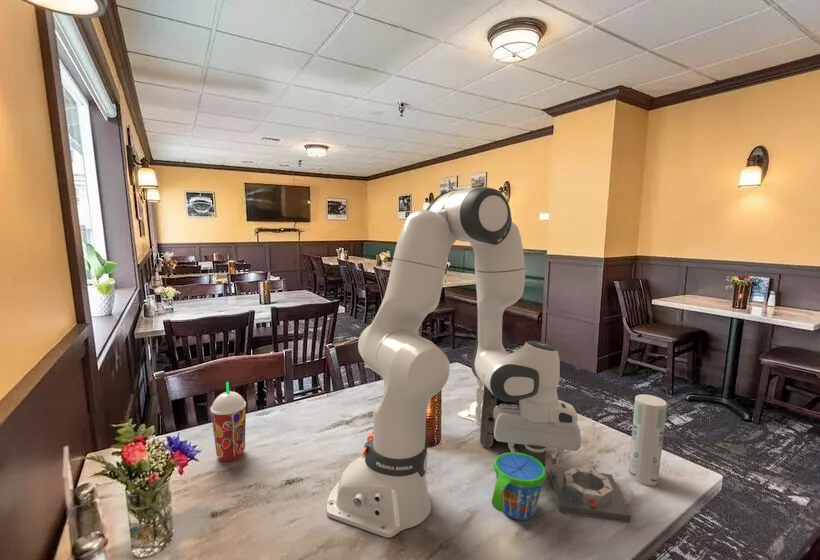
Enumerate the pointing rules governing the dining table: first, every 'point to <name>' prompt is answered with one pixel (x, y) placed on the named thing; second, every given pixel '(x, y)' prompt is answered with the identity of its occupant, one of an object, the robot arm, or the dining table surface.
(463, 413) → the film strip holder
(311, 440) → the dining table surface
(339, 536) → the dining table surface
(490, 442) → the vintage camera
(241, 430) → the smoothie
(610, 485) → the mount plate
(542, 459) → the lens
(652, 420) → the spray can
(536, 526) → the dining table surface
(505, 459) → the snack cup
